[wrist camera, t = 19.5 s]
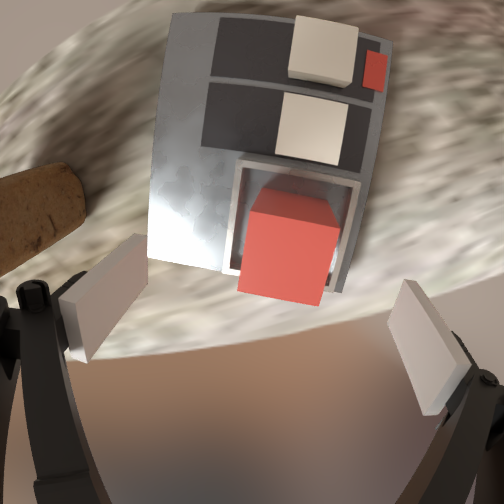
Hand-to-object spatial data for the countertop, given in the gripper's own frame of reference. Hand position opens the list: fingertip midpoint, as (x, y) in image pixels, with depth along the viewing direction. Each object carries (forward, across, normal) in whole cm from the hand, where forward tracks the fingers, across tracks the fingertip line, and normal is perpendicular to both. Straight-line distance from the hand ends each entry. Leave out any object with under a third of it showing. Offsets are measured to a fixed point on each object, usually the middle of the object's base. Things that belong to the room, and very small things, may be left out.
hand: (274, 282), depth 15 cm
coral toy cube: (+10, +1, 0) cm, 10 cm away
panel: (+13, -2, +6) cm, 14 cm away
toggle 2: (+9, +1, +8) cm, 12 cm away
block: (+14, -24, -2) cm, 28 cm away
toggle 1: (+9, +1, +13) cm, 16 cm away
